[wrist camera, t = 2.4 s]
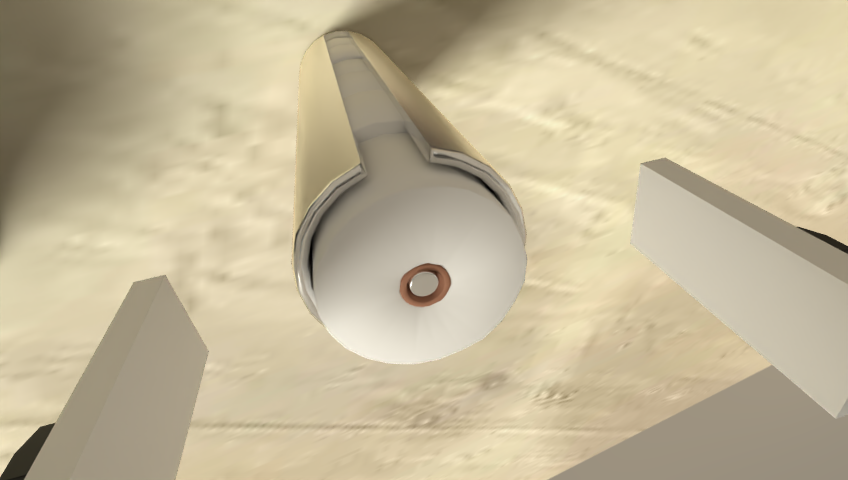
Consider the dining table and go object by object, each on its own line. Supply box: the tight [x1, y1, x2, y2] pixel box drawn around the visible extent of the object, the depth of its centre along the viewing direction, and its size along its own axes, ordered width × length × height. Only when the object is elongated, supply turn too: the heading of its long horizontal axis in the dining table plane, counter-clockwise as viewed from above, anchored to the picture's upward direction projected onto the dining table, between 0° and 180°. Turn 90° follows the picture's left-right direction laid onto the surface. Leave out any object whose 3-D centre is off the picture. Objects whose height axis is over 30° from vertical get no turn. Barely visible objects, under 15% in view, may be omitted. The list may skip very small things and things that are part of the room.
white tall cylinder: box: [291, 31, 527, 364], centre depth 22 cm, size 6×6×25 cm
